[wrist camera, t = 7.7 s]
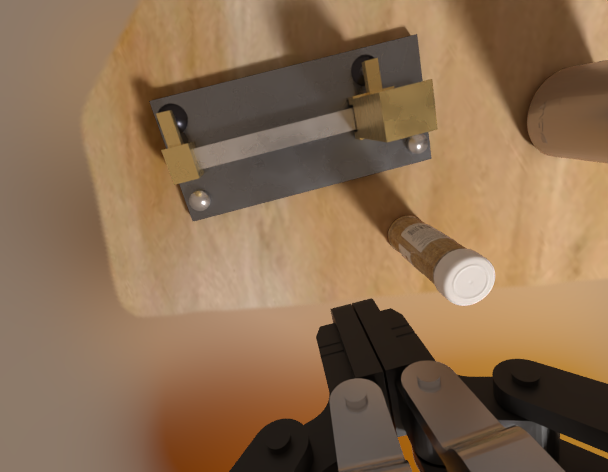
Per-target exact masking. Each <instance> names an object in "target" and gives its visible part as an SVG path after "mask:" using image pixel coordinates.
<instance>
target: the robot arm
mask: <svg viewBox="0 0 608 472" xmlns="http://www.w3.org/2000/svg"><path fill="white" fill-rule="evenodd" d="M527 127H528V133H529V136H530V139H531V141H532V143H533V144H534V146H535V147H536V148H537V149H538V150H539V151H540V152H542V153H544V154H546V155H549V156H554V157H561V158H569V159H578V160H584V161H593V162H601V163H608V60H605V61H600V62H594V63H588V64H583V65H577V66H572V67H568V68H564V69H562V70H560V71H558V72H556V73H554V74H553V75H552V76H550V77H549V78H548V79H547V80H546V81H545V82H544V83H543V84H542V85H541V86H540V87H539V89H538V90H537V92H536V93H535V95H534V97H533V99H532V102H531V104H530V107H529V111H528V118H527ZM331 314H332V319H333V324H329V325H325V326H321V327H320V328H319V331H318V334H317V336H316V339H317V343H318V346H319V351H320V355H321V359H322V363H323V367H324V371H325V375H326V380H327V384H328V388H329V392H330V396H329V401H328V404H327V406H326V407H325V409H324V410H323V412H322V413H321V414H320V415H318V416H317V417H316V418H315V419H313V420H311V421H310V422H308V423H306V424H305V425H303V424H301V423H300V422H298V421H296V420H293V419H280V420H276V421H274V422H271V423H270V424H268V425H266V426H265V427H264V428H263V429H262V430H261V431H260V432H259V433H258V434H257V435H256V437H255V438H254V439H253V441H252V442H251V443H250V445H249V446H248V447H247V449H246V450H245V451H244V453H243V454H242V455H241V457H240V458H239V459H238V461H237V462H236V463H235V465H234V466H233V467H232V469H231V470H230V471H229V472H412V470H411V468H410V465H409V462H408V461H407V460H405V459H404V456H403V453H402V450H401V447H400V444H399V441H398V438H397V437H400V436H404V435H407V436H408V438H409V440H410V442H411V444H412V450H413V456H414V460H415V462H416V465H417V467H418V469H419V470H420V472H608V459H606V458H604V457H602V456H599V455H597V454H595V453H592V452H590V451H587V450H585V449H583V448H580V447H578V446H576V445H573V444H571V443H569V442H566V441H564V440H561V439H560V433H561V434H564V435H566V436H568V437H571V438H573V439H576V440H578V441H580V442H583V443H585V444H588V445H590V446H593V447H595V448H597V449H600V450H603V451H605V452H607V453H608V384H606V383H603V382H599V381H596V380H593V379H590V378H587V377H583V376H580V375H576V374H573V373H570V372H567V371H563V370H560V369H557V368H554V367H550V366H547V365H544V364H540V363H537V362H534V361H530V360H524V359H510V360H506V361H503V362H501V363H499V364H498V365H496V367H495V368H494V370H493V377H466V376H460V375H457V374H456V373H455V372H454V371H453V370H452V369H451V368H450V367H448V366H447V365H445V364H442V363H440V362H436V361H435V359H434V358H433V357H432V355H431V354H430V353H429V351H428V350H427V348H426V347H425V346H424V344H423V343H422V341H421V340H420V339H419V337H418V336H417V334H415V332H414V331H413V329H412V327H411V326H409V323H408V322H407V321H406V319H405V318H404V317H403V315H402V314H400V313H398V312H396V311H395V310H393V309H391V308H390V309H387V310H383V311H380V310H379V308H378V307H377V305H376V304H375V302H374V300H373V299H372V298H371V299H367V300H363V301H360V302H356V303H352V305H351V304H348V305H344V306H341V307H336V308H333V309H331Z"/></svg>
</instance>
